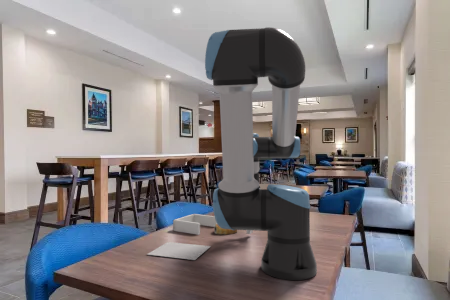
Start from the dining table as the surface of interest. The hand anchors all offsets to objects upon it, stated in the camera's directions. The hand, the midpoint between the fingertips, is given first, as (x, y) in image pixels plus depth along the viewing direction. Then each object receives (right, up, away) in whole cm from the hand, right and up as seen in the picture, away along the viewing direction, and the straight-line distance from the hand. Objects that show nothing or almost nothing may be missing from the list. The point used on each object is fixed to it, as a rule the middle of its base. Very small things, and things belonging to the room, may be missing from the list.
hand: (249, 232), depth 115 cm
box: (-22, -2, +12) cm, 26 cm away
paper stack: (-19, -2, -14) cm, 24 cm away
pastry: (-10, -2, +6) cm, 12 cm away
